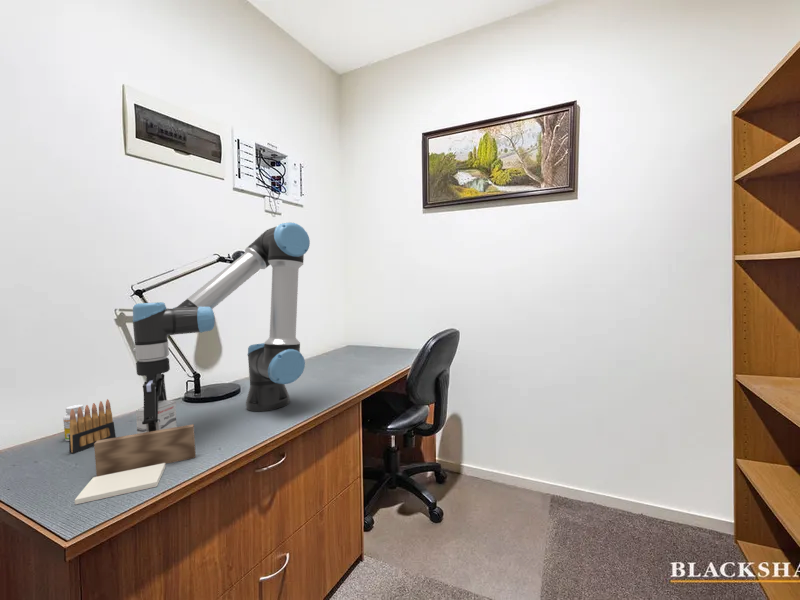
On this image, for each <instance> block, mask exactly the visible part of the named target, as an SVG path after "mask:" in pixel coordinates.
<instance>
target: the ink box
mask: <svg viewBox="0 0 800 600" xmlns="http://www.w3.org/2000/svg"><path fill="white" fill-rule="evenodd" d="M135 414H136V434H139V433H145V432H147V428H146V424H142V422H143V421H144V406H141V407H139V408H137V409H136V410H135ZM149 418H153V417H149ZM158 421H159V427H160V430H163V429H168V428H174V427H178V425H177V403H176V400H168V399H167V400H163V401H158Z"/></svg>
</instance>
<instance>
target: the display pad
mask: <svg viewBox="0 0 800 600" xmlns="http://www.w3.org/2000/svg"><path fill="white" fill-rule="evenodd" d="M165 470H166V464H165V463H162V464H157V465H152V466H147V467H142V468H137V469H132V470H127V471H122V472H117V473H112V474H107V475H103V476H98V477H97V476H93V477H91V478H92V479H91V480H89V482H88V483H87V484H86V486H84V488H83V489H82V490H81V491H80V492H79V494H78V495H77V496H76V498H74V505H75V506H76V505H80V504H83V503H88V502H93V501H98V500H101V499H107V498H111V497H115V496H119V495H124V494H129V493H134V492H138V491H142V490H147V489H151V488H155V487H158V484H159V483H160V481H161V478H162V476H163V474H164V471H165Z"/></svg>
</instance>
